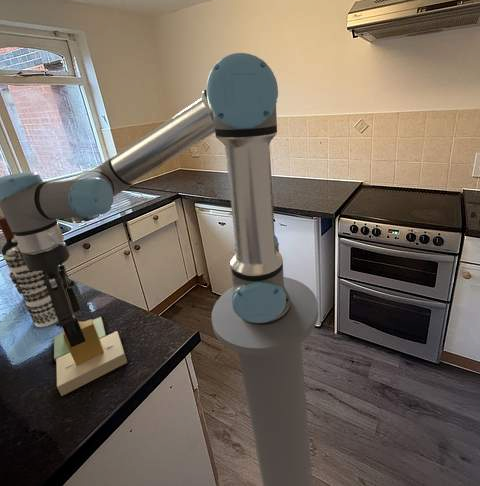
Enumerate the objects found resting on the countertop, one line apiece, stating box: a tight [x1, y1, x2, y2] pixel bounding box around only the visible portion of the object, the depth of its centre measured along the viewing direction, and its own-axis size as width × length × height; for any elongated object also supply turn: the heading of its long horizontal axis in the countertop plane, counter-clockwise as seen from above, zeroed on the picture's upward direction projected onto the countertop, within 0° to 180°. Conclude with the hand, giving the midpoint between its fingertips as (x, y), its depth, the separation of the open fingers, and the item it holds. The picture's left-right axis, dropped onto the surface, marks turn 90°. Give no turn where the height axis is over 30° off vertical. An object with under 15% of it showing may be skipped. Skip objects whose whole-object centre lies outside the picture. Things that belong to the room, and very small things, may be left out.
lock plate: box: [55, 330, 128, 397], centre depth 74 cm, size 14×10×3 cm
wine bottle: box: [0, 216, 19, 286], centre depth 101 cm, size 8×8×30 cm
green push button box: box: [53, 316, 107, 362], centre depth 83 cm, size 12×10×3 cm
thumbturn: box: [62, 318, 104, 366], centre depth 72 cm, size 6×2×9 cm, turn 126°
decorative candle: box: [2, 246, 58, 328], centre depth 90 cm, size 9×9×25 cm
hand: (76, 326), depth 70 cm, fingers open, 13 cm apart
